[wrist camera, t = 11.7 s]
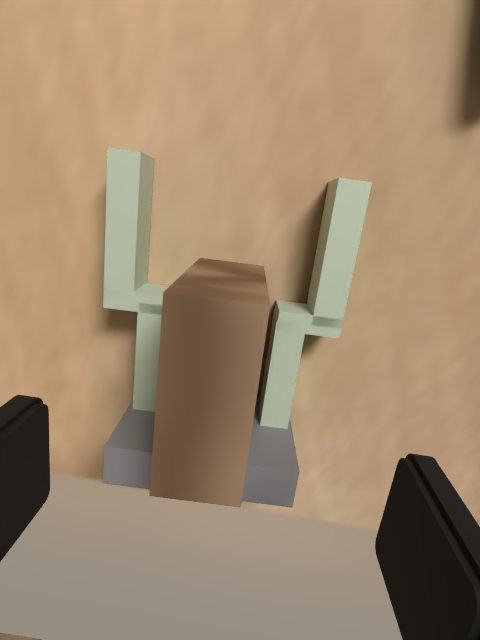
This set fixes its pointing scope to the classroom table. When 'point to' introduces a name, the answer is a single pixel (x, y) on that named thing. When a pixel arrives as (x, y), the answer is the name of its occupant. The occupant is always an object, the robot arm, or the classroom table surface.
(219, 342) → the brown wooden block
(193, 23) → the classroom table surface
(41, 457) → the robot arm
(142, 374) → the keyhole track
